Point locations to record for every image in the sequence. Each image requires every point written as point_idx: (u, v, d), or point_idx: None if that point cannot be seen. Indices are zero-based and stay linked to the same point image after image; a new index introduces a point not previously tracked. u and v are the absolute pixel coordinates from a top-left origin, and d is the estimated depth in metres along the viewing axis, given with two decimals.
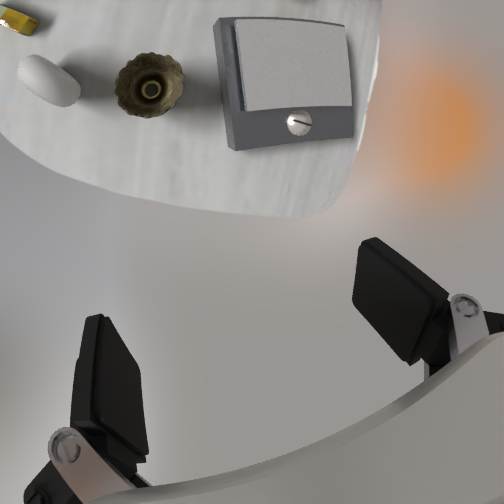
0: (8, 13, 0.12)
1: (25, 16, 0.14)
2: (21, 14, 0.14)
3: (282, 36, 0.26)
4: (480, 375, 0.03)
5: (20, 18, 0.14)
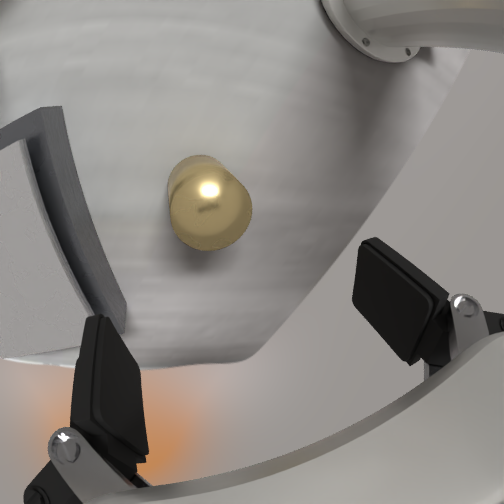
0: None
1: None
2: None
3: (17, 237, 0.12)
4: (480, 375, 0.03)
5: None
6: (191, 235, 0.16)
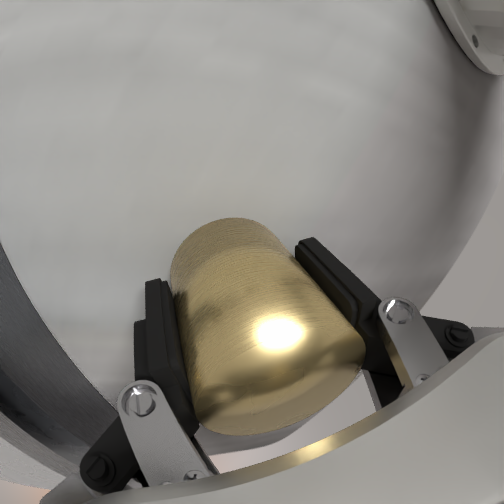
0: None
1: None
2: None
3: None
4: (480, 375, 0.03)
5: None
6: (240, 425, 0.07)
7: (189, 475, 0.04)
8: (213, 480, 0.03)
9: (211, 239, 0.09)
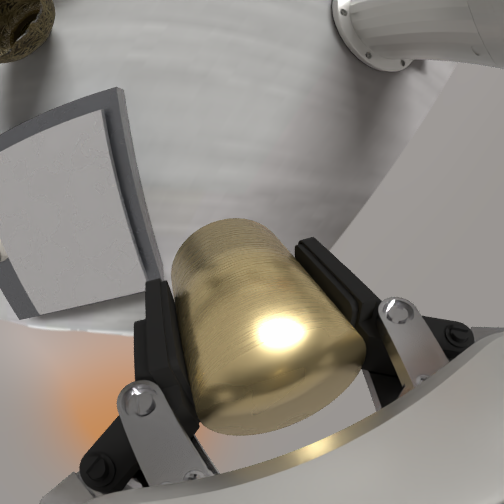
0: None
1: None
2: None
3: (86, 191, 0.17)
4: (480, 375, 0.03)
5: None
6: (241, 425, 0.07)
7: (189, 475, 0.04)
8: (213, 480, 0.03)
9: (212, 240, 0.09)
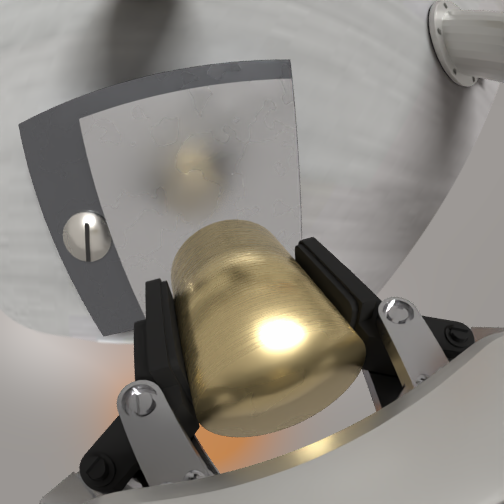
0: None
1: None
2: None
3: (262, 169, 0.16)
4: (480, 375, 0.03)
5: None
6: (240, 427, 0.07)
7: (189, 475, 0.04)
8: (213, 480, 0.03)
9: (211, 241, 0.09)
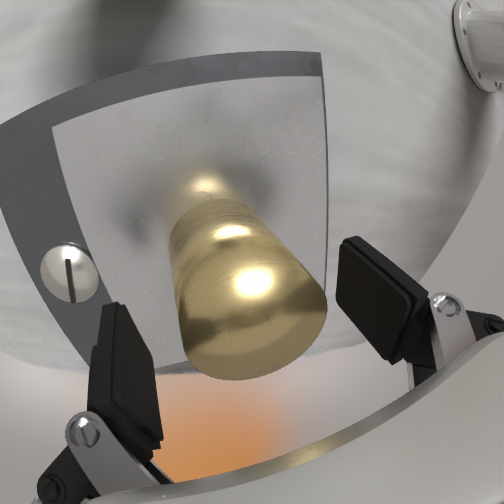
0: None
1: None
2: None
3: (283, 189, 0.13)
4: (480, 375, 0.03)
5: None
6: (221, 366, 0.09)
7: None
8: (213, 480, 0.03)
9: (202, 213, 0.11)
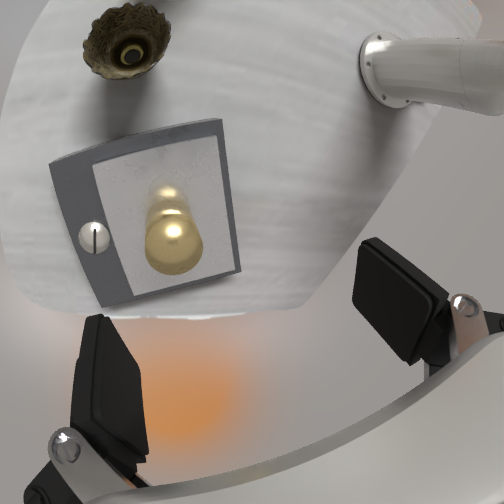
0: None
1: None
2: None
3: (200, 194, 0.27)
4: (480, 375, 0.03)
5: None
6: (160, 264, 0.22)
7: None
8: (213, 480, 0.03)
9: (159, 205, 0.25)
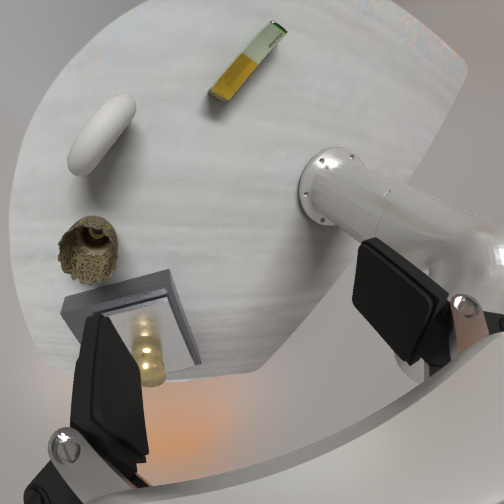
0: (248, 68, 0.26)
1: (232, 94, 0.28)
2: (238, 87, 0.27)
3: (163, 332, 0.38)
4: (480, 375, 0.03)
5: (231, 87, 0.27)
6: (142, 383, 0.34)
7: None
8: (213, 480, 0.03)
9: (137, 343, 0.36)
